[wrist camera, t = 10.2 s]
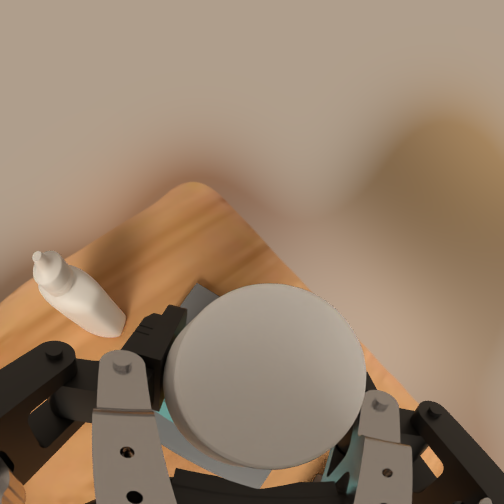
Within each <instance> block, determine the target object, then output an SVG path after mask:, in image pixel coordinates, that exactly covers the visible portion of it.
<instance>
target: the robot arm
mask: <svg viewBox="0 0 504 504" xmlns="http://www.w3.org/2000/svg"><path fill="white" fill-rule="evenodd" d="M186 320H187V309H186V308H182V307H178V306H173V305H168V307H167V308H166V310H165V311H164V313H163V314H162V315H159V314H155V313H153V314H151V315H149V316H147V317H145V318H144V319H143V320H142V322H141V323H140V324H139V326H138V327H137V328H136V330H135V332H133V334H132V335H131V337H130V338H129V339H128V341H127V342H126V343H125V345H124V346H123V347H122V349H121V350H114V351H110V352H108V353H106V354H104V355H103V356H102V357H101V359H100V361H91V360H84V359H77V358H76V356H75V351H74V349H73V348H72V347H71V346H70V345H68V344H67V343H64V342H61V341H48V342H45V343H42V344H40V345H39V346H37V347H36V348H34V349H32V350H31V351H29V352H27V353H26V354H24V355H23V356H21V357H19V358H18V359H16V360H15V361H13V362H11V363H10V364H8V365H7V366H5V367H4V368H2V369H0V504H25V501H26V493H25V489H24V487H23V485H24V484H25V483H26V482H27V481H28V480H29V479H30V478H31V477H32V476H33V475H34V474H35V473H36V472H37V471H38V470H39V469H40V468H41V467H42V466H43V465H44V464H45V463H46V462H47V461H48V460H49V459H50V458H51V457H52V456H53V455H54V454H55V453H56V452H57V451H58V450H59V449H60V448H61V447H62V446H63V445H64V444H65V443H66V442H67V440H68V439H69V438H70V437H71V436H72V435H73V434H74V433H75V432H76V431H77V430H78V429H79V428H80V427H81V426H82V425H83V424H84V423H85V422H88V423H92V457H93V476H94V488H95V497H96V499H95V500H93V501H90V502H88V503H85V504H504V473H503V472H502V471H501V469H500V468H499V467H498V466H497V465H496V464H495V462H494V461H493V460H492V459H491V458H490V457H489V456H488V455H487V454H486V452H485V451H484V450H483V449H482V448H481V447H480V446H479V445H478V444H477V443H476V442H475V441H474V439H473V438H472V437H471V436H470V435H469V434H468V433H467V432H466V431H465V430H464V428H463V427H462V426H461V425H460V424H459V423H458V422H457V421H456V420H455V419H454V418H453V417H452V416H451V415H450V414H449V413H448V412H447V410H446V409H445V408H444V407H442V406H441V405H440V404H438V403H436V402H432V401H423V402H422V403H420V404H419V406H418V407H417V409H416V410H415V411H412V410H406V409H401V408H399V405H398V403H397V401H396V400H395V398H393V397H392V396H391V395H389V394H388V393H386V392H383V391H379V390H377V389H376V387H375V385H374V383H373V382H372V380H371V378H370V376H369V374H368V372H366V387H365V395H364V399H363V402H362V405H361V409H360V411H359V413H358V416H357V418H356V419H355V421H354V423H353V425H352V426H351V428H350V429H349V430H348V432H347V433H346V434H345V435H344V437H343V438H342V439H341V440H340V441H339V442H338V443H337V444H336V445H335V446H334V447H333V448H331V449H330V453H329V456H328V460H327V463H326V467H325V470H324V473H323V476H322V480H321V482H298V483H294V484H289V485H283V486H278V487H272V488H265V489H256V488H252V487H249V486H245V485H242V484H239V483H236V482H233V481H230V480H227V479H224V478H221V477H218V476H213V475H207V474H202V473H197V472H192V471H187V470H182V469H178V468H176V470H175V474H174V477H169V475H168V471H167V467H166V463H165V460H164V455H163V451H162V447H161V443H160V438H159V433H158V428H157V423H156V418H155V414H154V411H158V412H159V411H160V409H161V406H162V403H163V401H164V391H163V373H164V366H165V362H166V359H167V356H168V353H169V351H170V348H171V346H172V344H173V342H174V341H175V339H176V338H177V336H178V335H179V334H180V332H181V331H182V330H183V329H184V328H185V327H186ZM46 399H47V400H46ZM45 400H46V401H45ZM43 401H45V402H44V403H43V404H42V405H40V404H41V403H42V402H43ZM38 405H40V406H39V407H38V408H37V409H35V408H36V407H37V406H38ZM34 409H35V410H34ZM32 410H34V411H33V412H32V413H31V411H32ZM152 410H154V411H152ZM30 413H31V414H30ZM428 446H430V448H431V449H432V450H433V452H434V453H435V454H436V455H437V457H438V458H439V459H440V460H441V462H442V463H443V466H444V470H443V473H442V474H441V475H440V476H439V477H438V478H436V476H435V475H434V474H433V472H432V471H431V470H430V468H429V467H428V466H427V464H426V463H425V462H424V460H423V459H422V458H421V456H420V455H421V454H422V453H423V452H424V451H425V450H426V449H427V447H428Z"/></svg>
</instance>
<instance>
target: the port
mask: <svg viewBox="0 0 504 504" xmlns="http://www.w3.org/2000/svg"><path fill="white" fill-rule="evenodd" d="M217 298H219V296H218V295H216V294H214V293H213V292H211V291H209V290H208V289H206V288H205V287H203V286H201V285H200V284H198V283H196V285H195V286H194V288H193V289H192V290H191V292H190V293H189V294H188V296H187V297H186V299H185V300H184V301H183V303H182V304H181V306H180V307H182V308H186V309H187V320H186V326H187V325H188V324H189V323H190V322H191V321H192V320H193V319H194V318H195V317H196V316H197V315H198V314H199V313H200V312H201V311H202V310H203V309H204V308H205V307H206V306H208V305H209V304H210V303H211V302H213V301H214V300H216V299H217ZM152 411H154V410H152ZM154 414H155V418H156V423H157V428H158V433H159V438H160V443H161V444H162V445H163V446H165V447H166V448H168V449H170V450H171V451H173V452H175V453H176V454H178V455H180V456H182V457H183V458H185V459H187V460H189V461H191V462H193V463H194V464H196V465H198V466H200V467H202V468H204V469H206V470H208V471H210V472H212V473H214V474H216V475H218V476H220V477H223V478H225V479H227V480H230V481H233V482H236V483H239V484H242V485H245V486H249V487H252V488H256V489H260V487H261V486H262V484H263V483H264V481H265V480H266V478H267V477H268V475H269V474H270V472H271V470H264V469H254V468H249V467H239V466H233V465H229V464H225V463H222V462H219V461H217V460H215V459H212V458H210V457H208V456H207V455H205V454H203V453H202V452H200V451H199V450H198V449H196V448H195V447H194V446H193V445H192V444H190V443H189V442H188V441H187V440H186V439H185V438H184V436H183V435H182V434H181V433H180V431H179V430H178V429H177V427H176V426H175V424H174V422H173V420H172V418H171V416H170V414H169V411H168V409H167V406H166V402H165V398H164V401H163V403H162V406H161V409H160V411H159V412H158V411H154Z"/></svg>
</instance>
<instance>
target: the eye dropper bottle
mask: <svg viewBox="0 0 504 504" xmlns="http://www.w3.org/2000/svg"><path fill="white" fill-rule="evenodd" d="M32 259H33V261H34V263H35V264H34V268H33V277H34V280H35V281H36V282H37V283H38V284H39V285H38V287H39V291H40V293H41V294H42V296H43V297H44V298H45V300H46V301H47V302H48V303H49V304H51V305H52V306H53V307H54V308H56V309H57V310H58V311H60V312H61V313H62V314H64V315H65V316H66V317H68V318H69V319H70V320H72V321H73V322H75V323H76V324H77V325H79V326H80V327H82V328H83V329H85V330H86V331H88V332H90V333H92V334H94V335H97V336H101V337H118V336H120V335H121V333H122V330H123V328H124V325H125V322H126V316H125V314H124V313H123V312H122V310H121V309H120V308H119V307H118V306H117V305H116V304H115V302H114V301H113V300H112V299H111V298H110V296H109V295H108V294H107V293H106V292H105V291H104V289H103V288H102V287H101V286H100V285H99V284H98V283H97V282H96V281H95V280H94V279H93V278H92V277H91V276H90V275H89V274H87V273H86V272H84V271H83V270H81V269H79V268H77V267H75V266H72V265H68V264H67V263H66V262H65V260H64V259H63V258H62V257H61V256H60V254H59V253H58V252H55V251H47V252H44V253H42V252H40V251H36V252H35V253H34V254H33V257H32Z"/></svg>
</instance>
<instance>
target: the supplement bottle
mask: <svg viewBox="0 0 504 504" xmlns="http://www.w3.org/2000/svg"><path fill="white" fill-rule="evenodd" d="M365 387H366V365H365V359H364V355H363V350H362V348H361V345H360V342H359V340H358V338H357V336H356V334H355V332H354V330H353V329H352V327H351V326H350V324H349V323H348V322H347V320H346V319H345V318H344V317H343V316H342V315H341V314H340V313H339V311H338V310H337V309H336V308H334V307H333V306H332V305H331V304H330V303H328V302H327V301H326V300H324V299H322V298H321V297H319V296H317V295H316V294H314V293H311V292H309V291H306V290H304V289H301V288H297V287H294V286H290V285H285V284H272V283H268V284H254V285H249V286H245V287H241V288H238V289H235V290H233V291H230V292H228V293H226V294H224V295H223V296H221V297H219V298H217V299H216V300H214V301H213V302H211V303H210V304H209V305H208V306H206V307H205V308H204V309H203V310H202V311H201V312H200V313H199V314H198V315H197V316H196V317H195V318H194V319H193V320H192V321H191V322H190V323H189V324H188V325H187V326H186V327H185V328H184V329H183V330H182V331H181V332H180V334H179V335H178V336H177V338H176V339H175V341H174V342H173V344H172V346H171V348H170V351H169V353H168V356H167V359H166V362H165V366H164V373H163V391H164V398H165V402H166V406H167V409H168V411H169V414H170V416H171V418H172V420H173V422H174V424H175V426H176V427H177V429H178V430H179V431H180V433H181V434H182V435H183V436H184V438H185V439H186V440H187V441H188V442H189V443H190V444H192V445H193V446H194V447H195V448H196V449H198V450H199V451H200V452H202V453H203V454H205V455H207V456H208V457H210V458H212V459H215V460H217V461H219V462H222V463H225V464H229V465H233V466H239V467H249V468H254V469H264V470H277V469H286V468H291V467H295V466H299V465H302V464H304V463H307V462H310V461H312V460H314V459H316V458H318V457H319V456H321V455H322V454H324V453H325V452H327V451H328V450H330V449H331V448H333V447H334V446H335V445H336V444H337V443H338V442H339V441H340V440H341V439H342V438H343V437H344V435H345V434H346V433H347V432H348V430H349V429H350V428H351V426H352V425H353V423H354V421H355V419H356V418H357V416H358V413H359V411H360V409H361V405H362V402H363V399H364V395H365Z"/></svg>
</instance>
